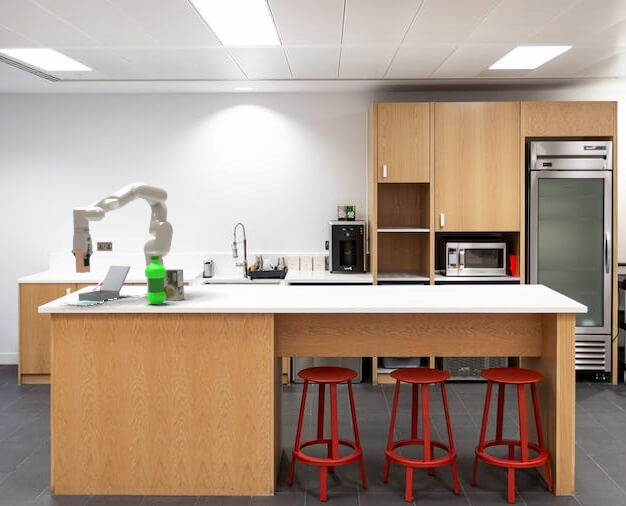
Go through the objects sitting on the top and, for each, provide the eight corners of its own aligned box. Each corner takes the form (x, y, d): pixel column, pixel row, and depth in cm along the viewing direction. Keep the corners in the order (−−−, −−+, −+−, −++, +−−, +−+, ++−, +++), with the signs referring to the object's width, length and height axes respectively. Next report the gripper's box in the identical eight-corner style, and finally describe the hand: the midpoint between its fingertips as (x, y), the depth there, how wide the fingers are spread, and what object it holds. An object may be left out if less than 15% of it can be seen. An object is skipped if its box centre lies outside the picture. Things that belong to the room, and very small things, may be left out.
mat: (104, 302, 380) (104, 301, 380) (84, 306, 368) (84, 305, 368) (85, 301, 387) (85, 300, 387) (65, 305, 375) (65, 303, 375)
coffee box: (184, 299, 388) (183, 269, 387) (178, 300, 382) (177, 270, 381) (169, 298, 391) (168, 269, 390) (163, 300, 385) (162, 270, 384)
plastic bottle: (167, 304, 368) (166, 256, 366) (146, 306, 365) (144, 257, 363) (166, 302, 378) (164, 254, 376) (145, 303, 375) (143, 255, 373)
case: (131, 296, 403) (130, 266, 402) (98, 302, 381) (96, 270, 380) (111, 295, 411) (110, 265, 409) (77, 301, 389) (76, 269, 388)
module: (90, 271, 377) (89, 248, 376) (82, 272, 373) (81, 248, 372) (83, 271, 380) (82, 247, 379) (76, 272, 375) (75, 248, 374)
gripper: (98, 231, 374) (100, 265, 375) (75, 230, 382) (77, 264, 383) (87, 231, 367) (89, 267, 369) (64, 231, 376) (65, 266, 377)
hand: (82, 265), depth 376 cm, fingers closed on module, 5 cm apart
